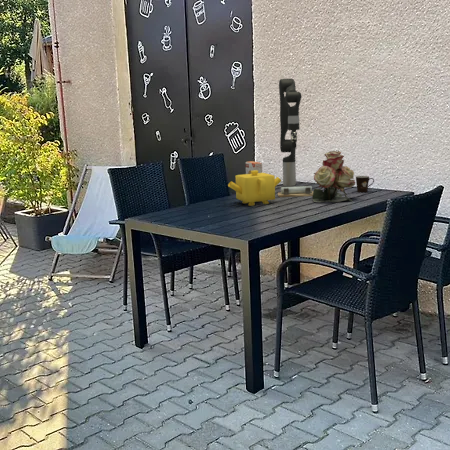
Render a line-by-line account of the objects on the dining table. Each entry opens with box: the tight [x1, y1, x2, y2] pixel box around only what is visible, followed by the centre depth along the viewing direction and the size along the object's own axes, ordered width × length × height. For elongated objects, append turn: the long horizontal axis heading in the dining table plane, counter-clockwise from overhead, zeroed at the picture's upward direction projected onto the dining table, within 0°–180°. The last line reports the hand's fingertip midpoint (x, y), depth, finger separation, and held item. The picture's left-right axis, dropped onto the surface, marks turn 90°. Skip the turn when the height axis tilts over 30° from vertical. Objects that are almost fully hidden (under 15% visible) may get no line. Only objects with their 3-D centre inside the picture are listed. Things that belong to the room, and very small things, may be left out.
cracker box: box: [244, 160, 263, 174], centre depth 399 cm, size 14×6×21 cm, turn 25°
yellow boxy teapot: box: [227, 170, 282, 206], centre depth 361 cm, size 35×29×20 cm
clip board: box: [277, 187, 314, 198], centre depth 383 cm, size 11×24×5 cm, turn 89°
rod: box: [280, 185, 313, 194], centre depth 383 cm, size 20×4×4 cm, turn 89°
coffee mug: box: [355, 175, 375, 194], centre depth 384 cm, size 12×9×10 cm
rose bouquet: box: [312, 150, 356, 203], centre depth 360 cm, size 26×29×30 cm
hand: (294, 147), depth 389 cm, fingers open, 8 cm apart
